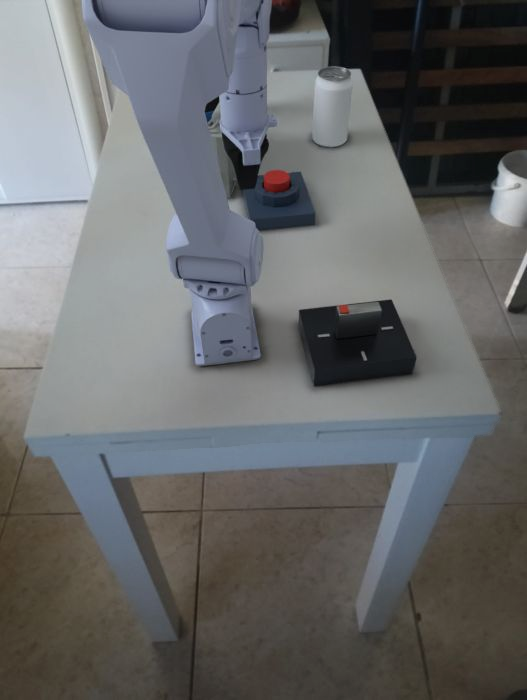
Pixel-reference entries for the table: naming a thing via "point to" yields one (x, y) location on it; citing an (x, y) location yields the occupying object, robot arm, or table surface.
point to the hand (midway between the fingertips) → (247, 186)
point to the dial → (357, 320)
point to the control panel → (355, 347)
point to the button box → (279, 205)
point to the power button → (276, 181)
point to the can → (332, 106)
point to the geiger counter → (222, 154)
